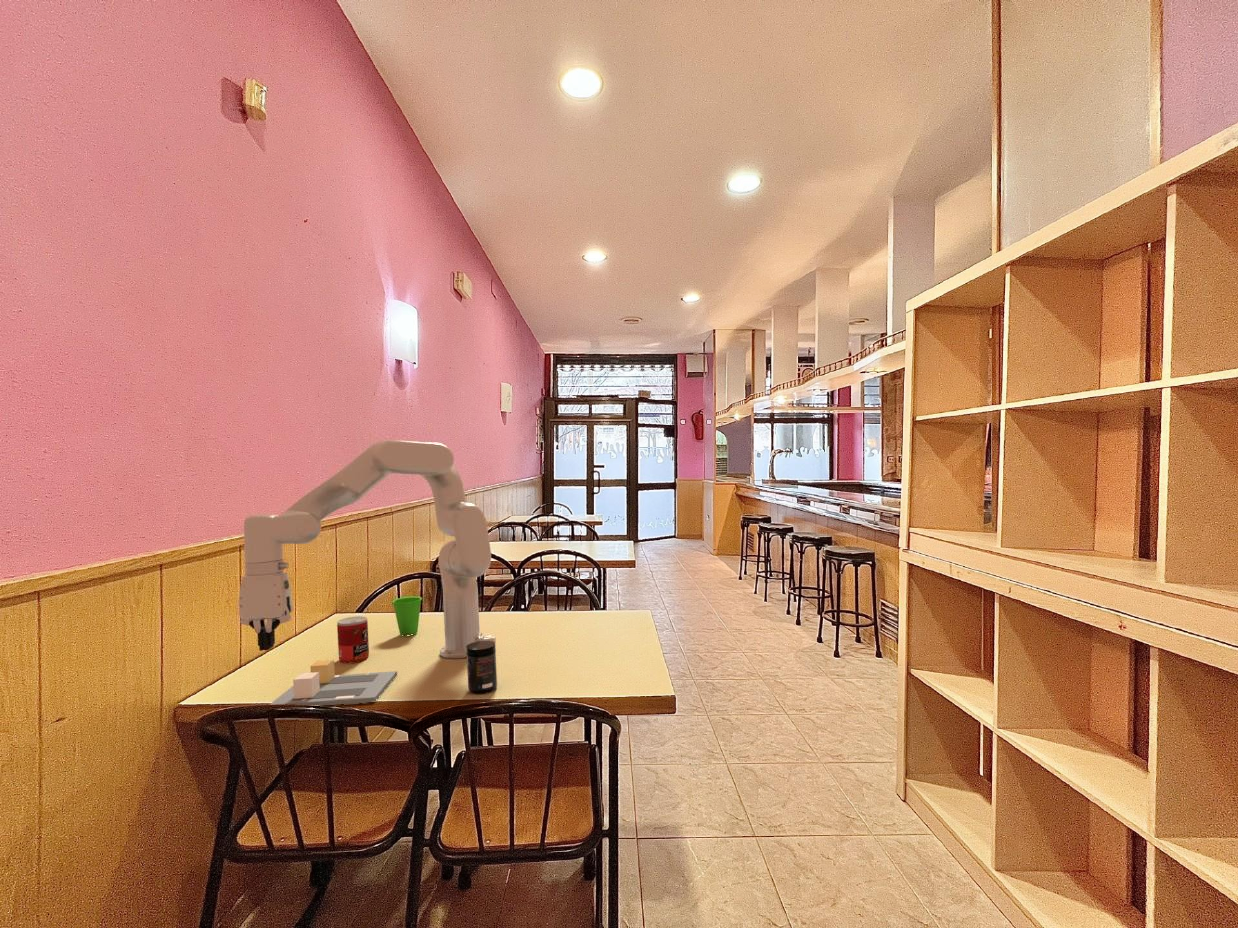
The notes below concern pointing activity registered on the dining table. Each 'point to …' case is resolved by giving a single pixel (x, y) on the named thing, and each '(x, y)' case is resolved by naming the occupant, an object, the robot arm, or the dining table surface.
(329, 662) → the orange cube
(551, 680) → the dining table surface
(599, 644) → the dining table surface
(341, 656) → the canned food
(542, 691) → the dining table surface
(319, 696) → the switch board
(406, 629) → the cup
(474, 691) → the supplement container
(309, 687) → the pale pink cube
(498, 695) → the dining table surface
